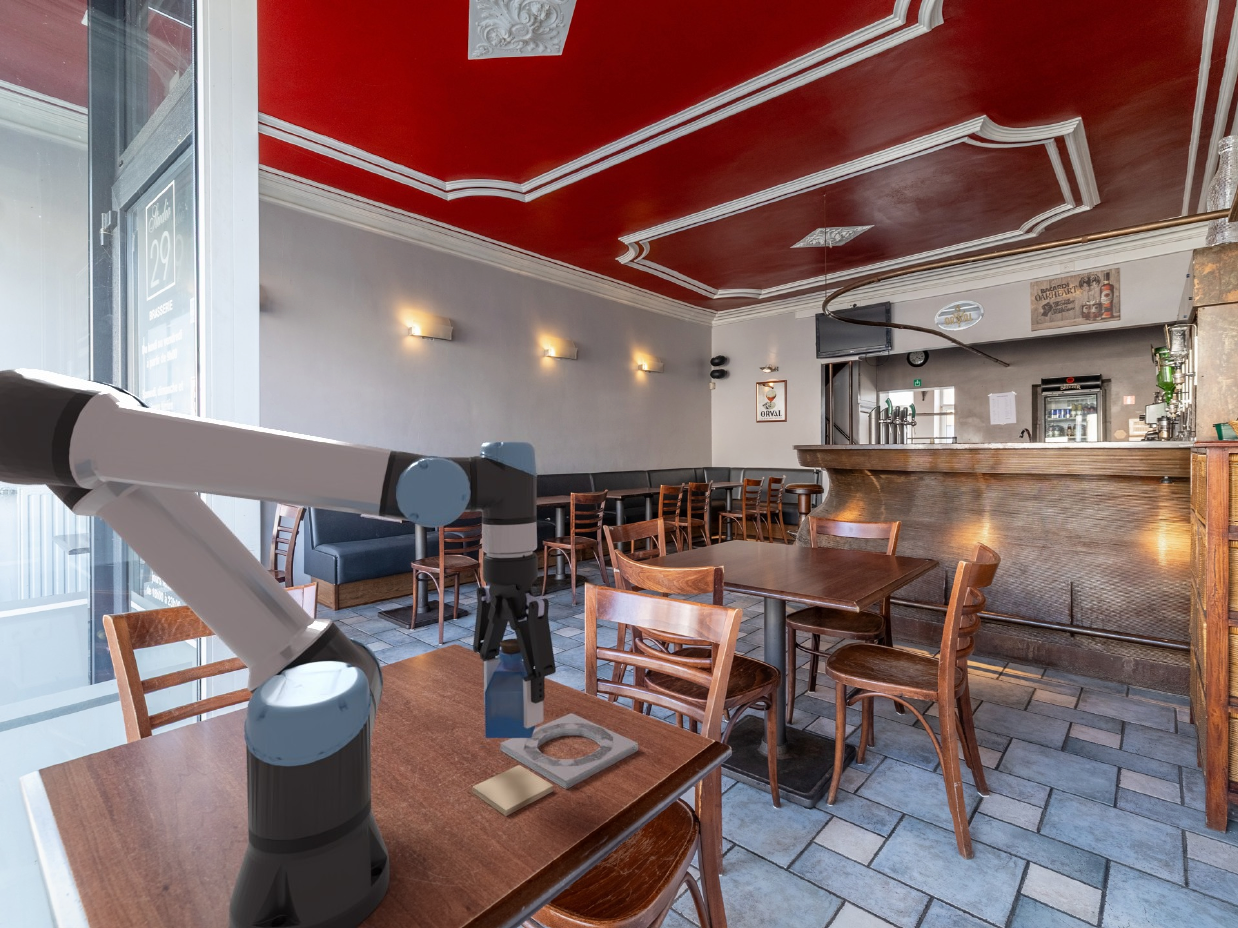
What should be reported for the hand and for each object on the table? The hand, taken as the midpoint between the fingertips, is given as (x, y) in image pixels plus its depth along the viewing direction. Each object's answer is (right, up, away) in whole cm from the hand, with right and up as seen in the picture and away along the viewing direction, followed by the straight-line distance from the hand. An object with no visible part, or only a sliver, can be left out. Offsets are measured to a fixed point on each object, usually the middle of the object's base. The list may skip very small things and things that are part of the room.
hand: (512, 713), depth 83 cm
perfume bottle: (0, -2, 0) cm, 2 cm away
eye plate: (+7, -11, +12) cm, 17 cm away
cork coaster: (0, -11, 0) cm, 11 cm away
